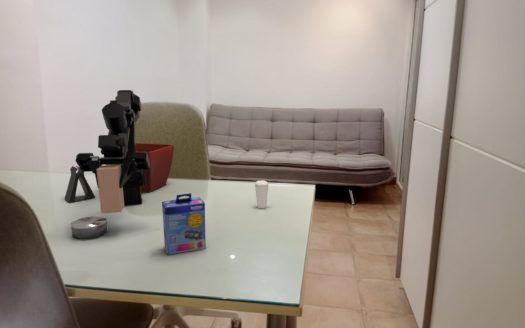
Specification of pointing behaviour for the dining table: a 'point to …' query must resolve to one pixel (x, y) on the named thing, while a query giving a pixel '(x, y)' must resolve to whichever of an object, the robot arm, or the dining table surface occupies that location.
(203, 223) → the ink cartridge box
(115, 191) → the tan rectangular block
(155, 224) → the dining table surface
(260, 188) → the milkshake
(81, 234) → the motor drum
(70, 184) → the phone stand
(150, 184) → the plant pot
